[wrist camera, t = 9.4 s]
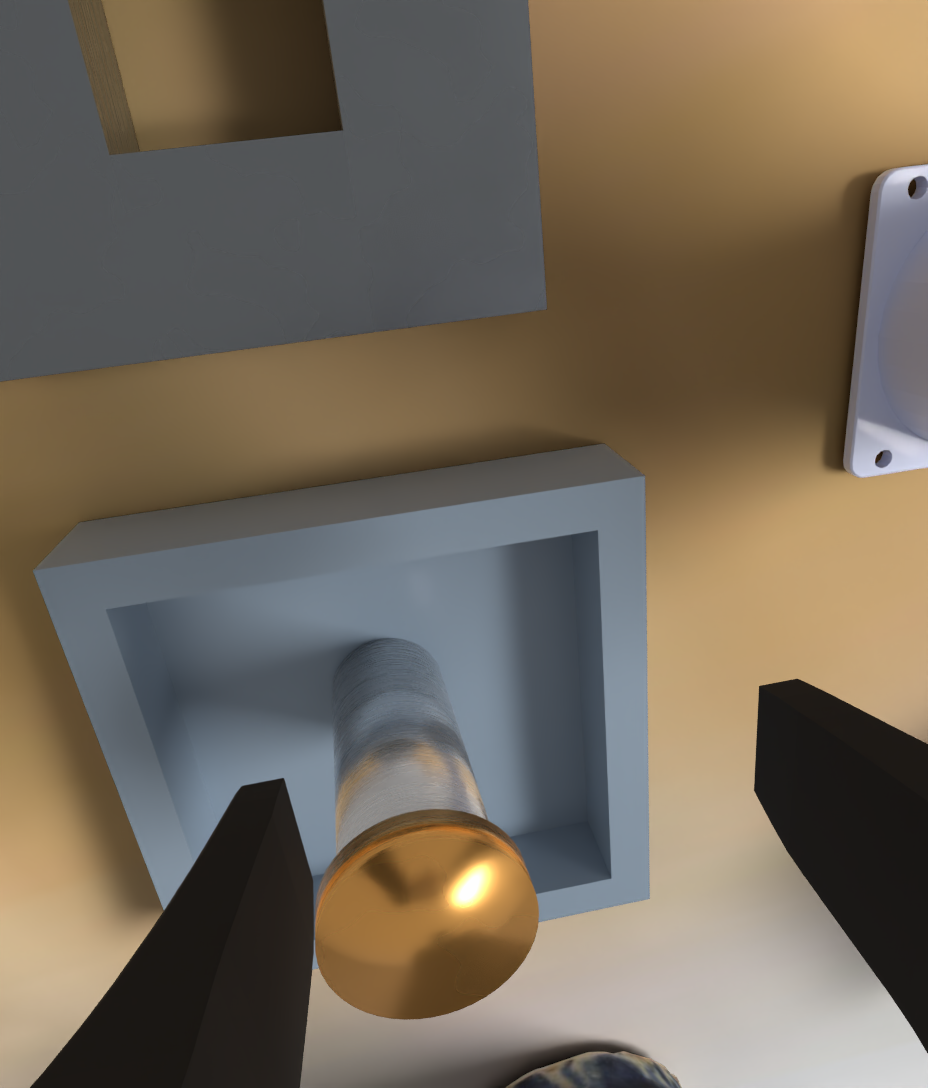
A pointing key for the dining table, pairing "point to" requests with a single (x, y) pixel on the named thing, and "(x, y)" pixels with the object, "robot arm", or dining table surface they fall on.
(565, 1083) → the jug
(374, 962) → the pin
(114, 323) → the grey square frame
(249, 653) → the tray
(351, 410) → the dining table surface
